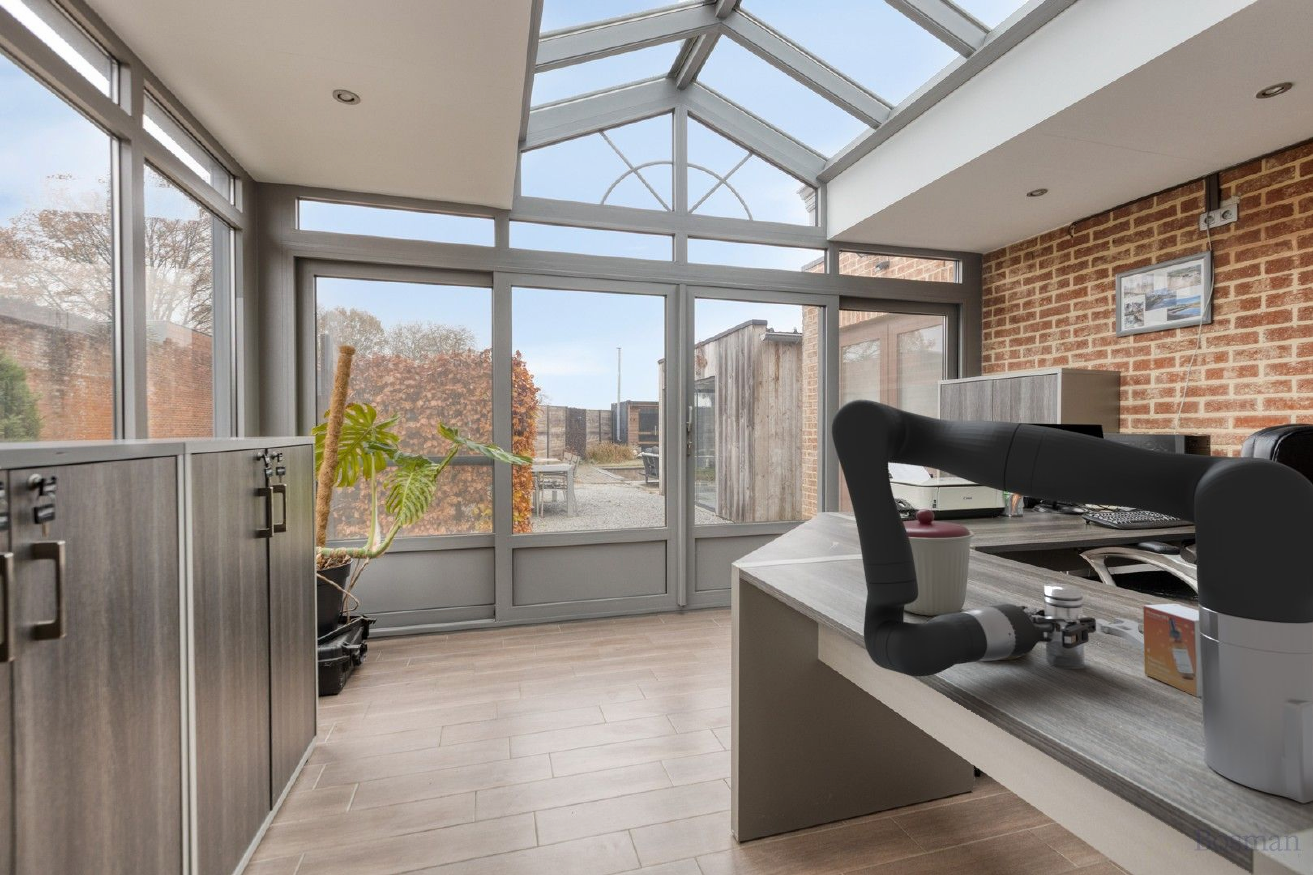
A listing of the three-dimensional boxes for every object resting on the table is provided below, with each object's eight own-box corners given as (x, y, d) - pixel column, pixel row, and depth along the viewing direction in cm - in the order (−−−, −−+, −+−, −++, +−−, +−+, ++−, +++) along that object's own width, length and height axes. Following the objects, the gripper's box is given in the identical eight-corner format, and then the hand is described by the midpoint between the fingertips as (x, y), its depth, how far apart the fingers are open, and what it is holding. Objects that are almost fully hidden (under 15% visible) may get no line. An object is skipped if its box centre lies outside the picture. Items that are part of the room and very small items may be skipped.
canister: (874, 598, 136) (871, 505, 136) (959, 598, 133) (955, 503, 133) (893, 622, 118) (889, 515, 118) (991, 623, 115) (987, 514, 116)
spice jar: (1093, 666, 93) (1090, 589, 93) (1068, 671, 91) (1065, 592, 91) (1062, 655, 98) (1059, 582, 98) (1038, 659, 96) (1035, 585, 96)
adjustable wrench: (1203, 680, 88) (1203, 668, 88) (1150, 676, 90) (1150, 664, 90) (1131, 627, 112) (1131, 617, 112) (1090, 625, 114) (1090, 615, 114)
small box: (1143, 675, 89) (1140, 604, 89) (1178, 672, 90) (1175, 602, 90) (1196, 697, 81) (1193, 620, 81) (1234, 694, 82) (1231, 617, 82)
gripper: (1033, 620, 84) (1121, 606, 89) (954, 596, 97) (1034, 585, 102) (1035, 674, 84) (1123, 657, 89) (956, 642, 97) (1036, 629, 102)
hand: (1075, 619), depth 95 cm, fingers closed on spice jar, 5 cm apart
